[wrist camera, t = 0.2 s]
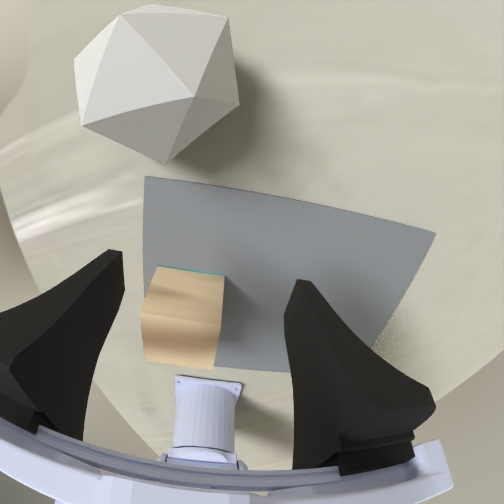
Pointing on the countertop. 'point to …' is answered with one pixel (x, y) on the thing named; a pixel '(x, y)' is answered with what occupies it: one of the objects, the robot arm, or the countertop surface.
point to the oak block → (182, 317)
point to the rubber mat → (278, 261)
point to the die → (157, 79)
